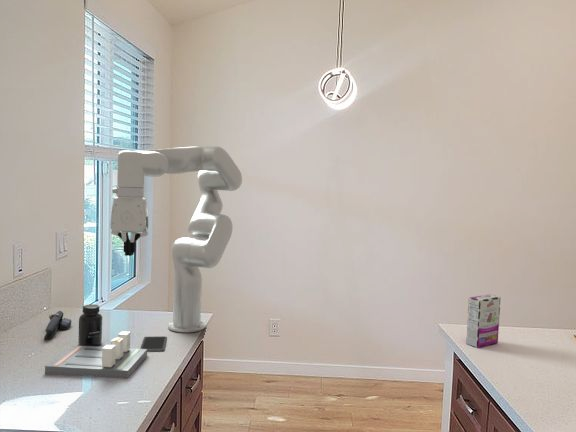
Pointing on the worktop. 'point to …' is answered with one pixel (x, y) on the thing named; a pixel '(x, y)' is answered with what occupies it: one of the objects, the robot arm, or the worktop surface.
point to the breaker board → (94, 362)
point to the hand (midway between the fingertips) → (129, 255)
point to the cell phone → (154, 344)
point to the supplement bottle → (90, 326)
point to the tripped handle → (118, 347)
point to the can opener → (56, 324)
